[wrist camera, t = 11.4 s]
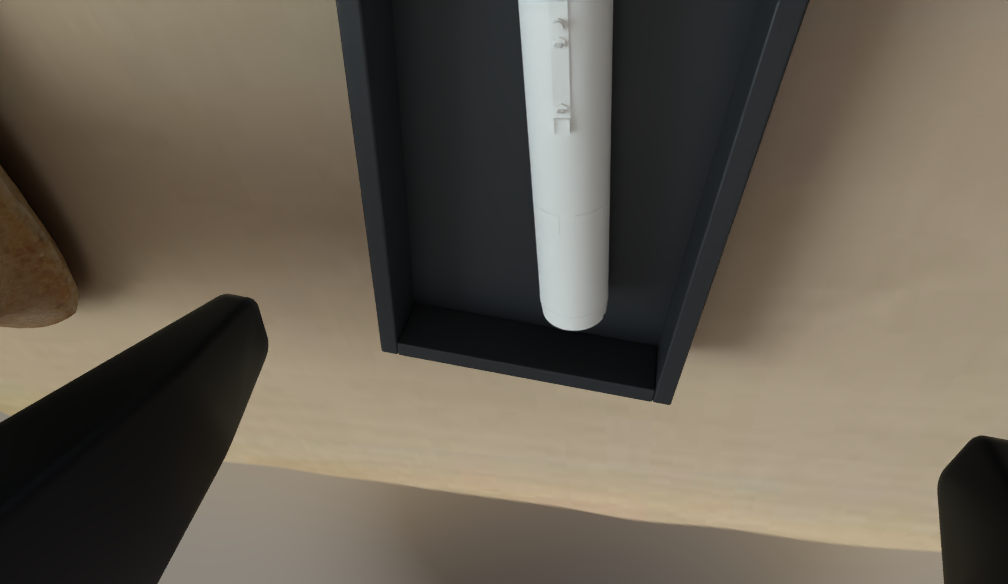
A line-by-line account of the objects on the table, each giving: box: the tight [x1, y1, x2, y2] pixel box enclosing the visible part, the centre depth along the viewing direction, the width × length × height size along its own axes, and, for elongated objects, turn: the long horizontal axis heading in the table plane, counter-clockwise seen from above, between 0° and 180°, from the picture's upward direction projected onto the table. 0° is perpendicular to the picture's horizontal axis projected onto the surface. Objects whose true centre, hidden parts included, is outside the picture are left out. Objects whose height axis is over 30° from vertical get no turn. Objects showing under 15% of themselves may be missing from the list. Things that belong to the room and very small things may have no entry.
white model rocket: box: [518, 0, 613, 331], centre depth 15 cm, size 18×2×2 cm, turn 5°
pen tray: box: [336, 0, 810, 405], centre depth 15 cm, size 10×23×2 cm, turn 178°
